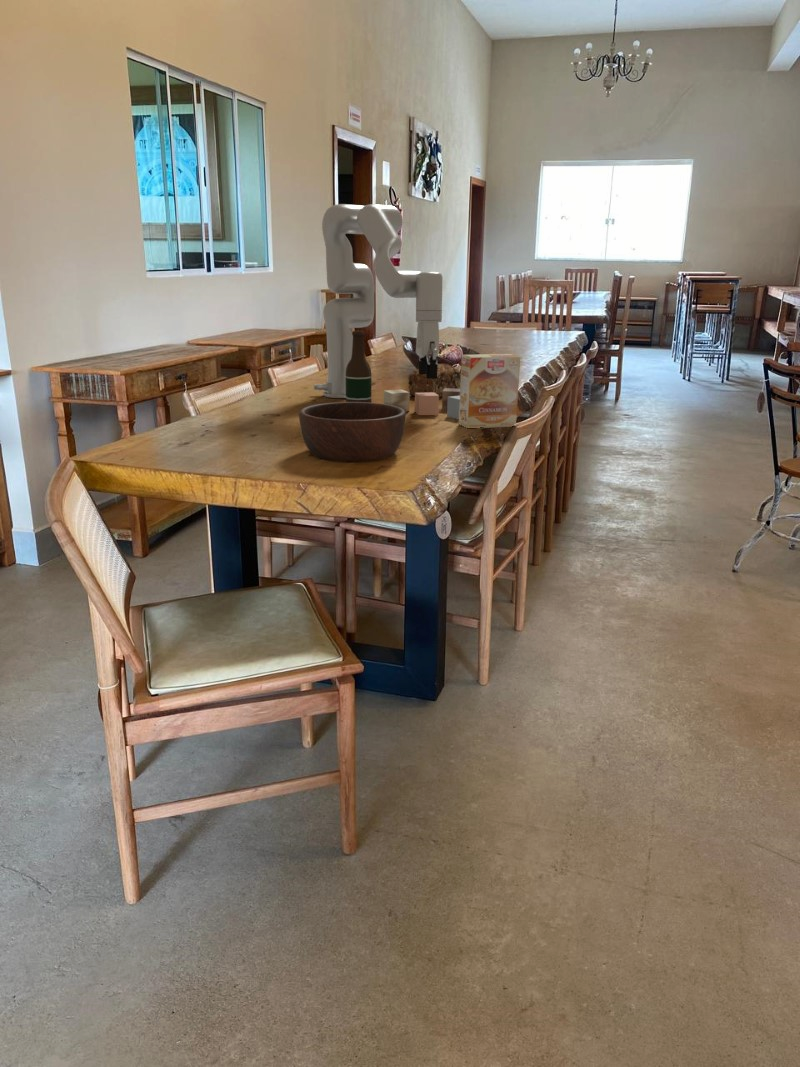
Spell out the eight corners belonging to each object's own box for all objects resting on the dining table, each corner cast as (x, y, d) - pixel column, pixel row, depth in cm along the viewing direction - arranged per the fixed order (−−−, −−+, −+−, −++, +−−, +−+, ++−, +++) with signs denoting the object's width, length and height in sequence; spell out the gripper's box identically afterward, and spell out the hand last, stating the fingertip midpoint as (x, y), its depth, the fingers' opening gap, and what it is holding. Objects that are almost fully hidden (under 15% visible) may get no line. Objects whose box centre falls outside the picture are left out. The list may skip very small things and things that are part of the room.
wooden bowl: (349, 437, 205) (349, 398, 202) (426, 452, 190) (427, 410, 187) (277, 454, 187) (276, 410, 184) (356, 471, 172) (355, 425, 169)
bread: (435, 390, 284) (436, 361, 281) (461, 393, 278) (462, 364, 275) (406, 396, 269) (407, 367, 266) (433, 399, 264) (434, 369, 260)
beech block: (391, 413, 239) (391, 393, 237) (383, 410, 244) (383, 390, 242) (409, 412, 241) (409, 392, 239) (401, 408, 246) (401, 389, 244)
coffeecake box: (467, 429, 217) (470, 357, 211) (457, 424, 223) (460, 354, 217) (517, 426, 221) (521, 355, 215) (506, 422, 228) (510, 352, 222)
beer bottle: (373, 410, 242) (373, 330, 234) (369, 415, 234) (369, 332, 227) (347, 410, 242) (347, 329, 235) (343, 414, 235) (342, 331, 227)
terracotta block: (418, 416, 235) (419, 395, 233) (414, 412, 241) (414, 392, 239) (438, 415, 236) (438, 395, 234) (433, 412, 242) (434, 392, 240)
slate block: (460, 420, 230) (460, 399, 228) (446, 417, 234) (447, 396, 232) (475, 418, 233) (476, 397, 231) (462, 415, 238) (463, 395, 236)
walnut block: (441, 410, 245) (442, 391, 243) (443, 407, 250) (444, 388, 248) (461, 411, 244) (462, 391, 242) (462, 408, 249) (463, 388, 247)
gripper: (409, 315, 237) (409, 373, 242) (422, 318, 221) (421, 380, 226) (434, 315, 238) (433, 372, 243) (448, 318, 222) (447, 379, 227)
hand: (427, 376), depth 235 cm, fingers open, 9 cm apart
